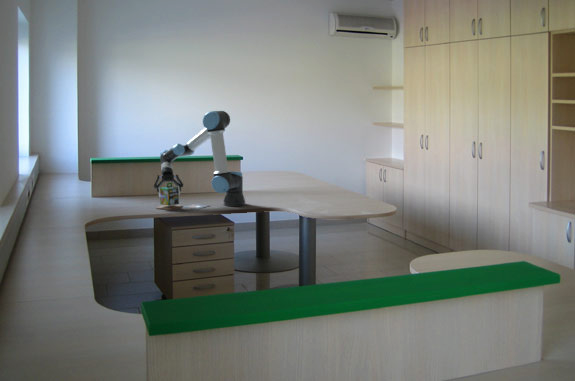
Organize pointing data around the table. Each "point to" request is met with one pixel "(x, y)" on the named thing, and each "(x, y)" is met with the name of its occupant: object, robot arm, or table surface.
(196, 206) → the plate
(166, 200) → the chalk box
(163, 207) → the walnut board
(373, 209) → the table surface
